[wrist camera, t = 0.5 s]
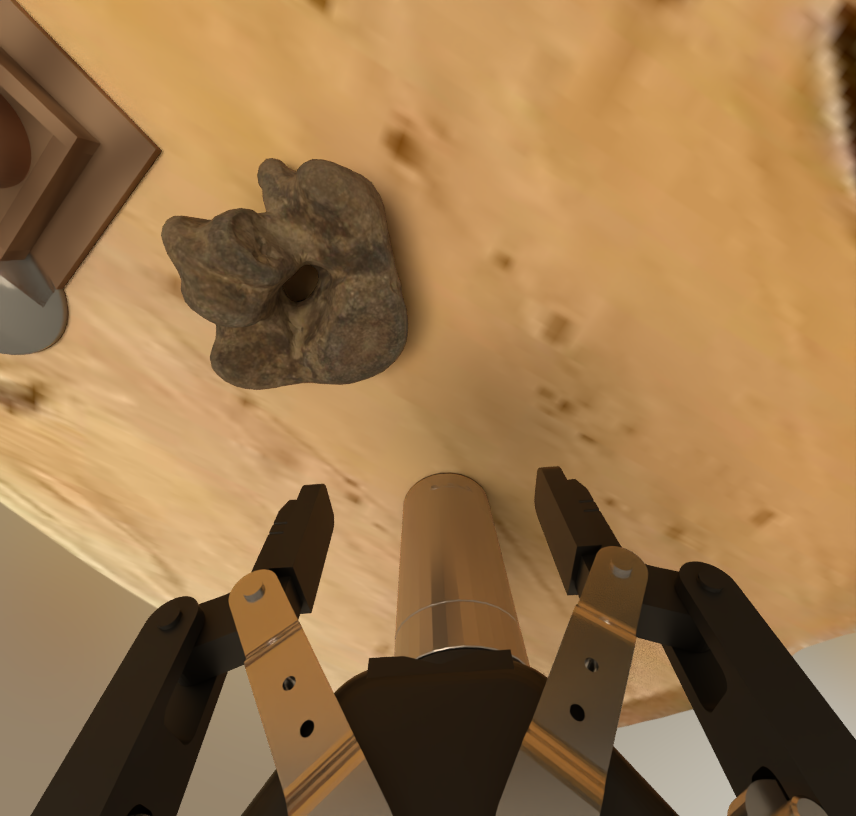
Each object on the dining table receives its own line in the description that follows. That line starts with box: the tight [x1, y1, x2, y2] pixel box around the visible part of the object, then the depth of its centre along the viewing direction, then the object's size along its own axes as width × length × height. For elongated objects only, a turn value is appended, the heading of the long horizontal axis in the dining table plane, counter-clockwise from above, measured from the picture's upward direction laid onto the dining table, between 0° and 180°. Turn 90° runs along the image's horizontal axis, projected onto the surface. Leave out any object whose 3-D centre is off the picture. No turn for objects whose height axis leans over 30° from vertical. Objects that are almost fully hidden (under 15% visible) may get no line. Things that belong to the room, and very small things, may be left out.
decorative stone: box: [161, 158, 408, 390], centre depth 25 cm, size 16×11×15 cm
